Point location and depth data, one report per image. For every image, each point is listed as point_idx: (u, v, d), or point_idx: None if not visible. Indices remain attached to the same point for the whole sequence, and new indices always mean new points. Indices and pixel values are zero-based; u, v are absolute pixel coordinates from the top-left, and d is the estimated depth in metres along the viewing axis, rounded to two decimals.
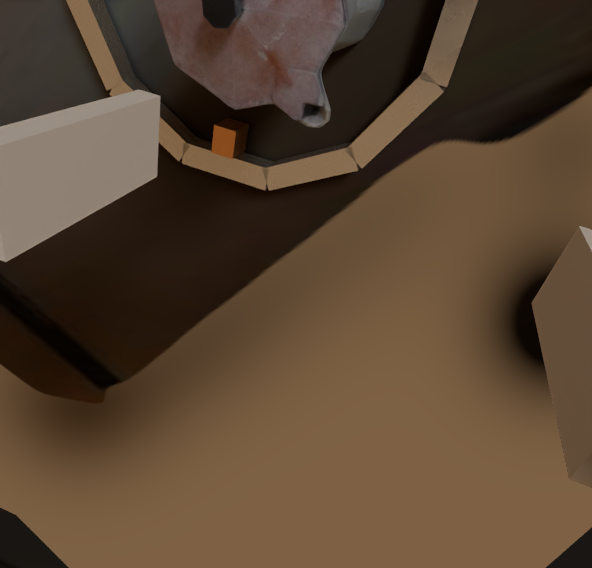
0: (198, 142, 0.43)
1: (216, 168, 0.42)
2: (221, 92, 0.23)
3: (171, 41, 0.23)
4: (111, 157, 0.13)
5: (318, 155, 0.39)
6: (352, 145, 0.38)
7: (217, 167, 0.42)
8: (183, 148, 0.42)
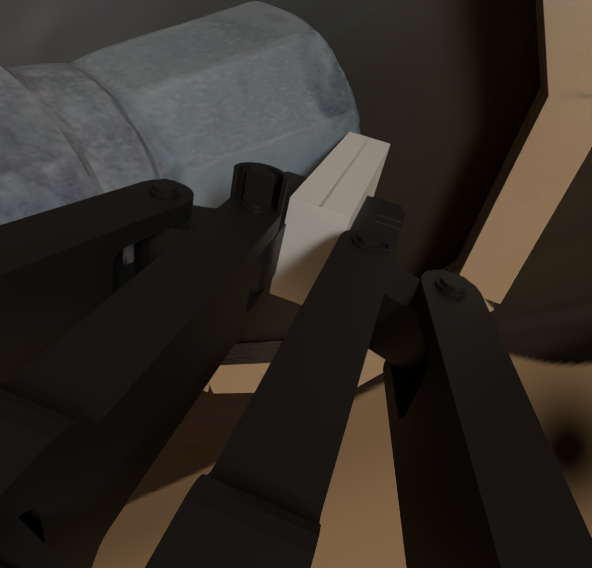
0: None
1: None
2: None
3: None
4: None
5: None
6: None
7: None
8: None
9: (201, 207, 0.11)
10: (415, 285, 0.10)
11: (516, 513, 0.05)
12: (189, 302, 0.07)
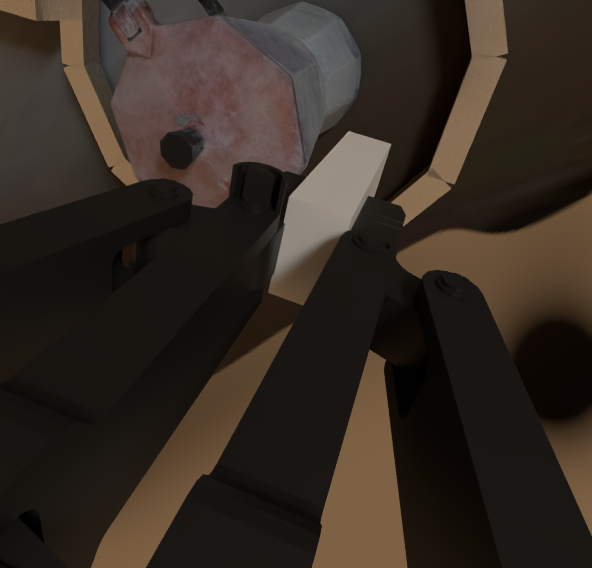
0: None
1: None
2: None
3: (133, 159, 0.23)
4: None
5: None
6: None
7: None
8: None
9: (200, 207, 0.11)
10: (416, 285, 0.10)
11: (517, 513, 0.05)
12: (188, 301, 0.07)
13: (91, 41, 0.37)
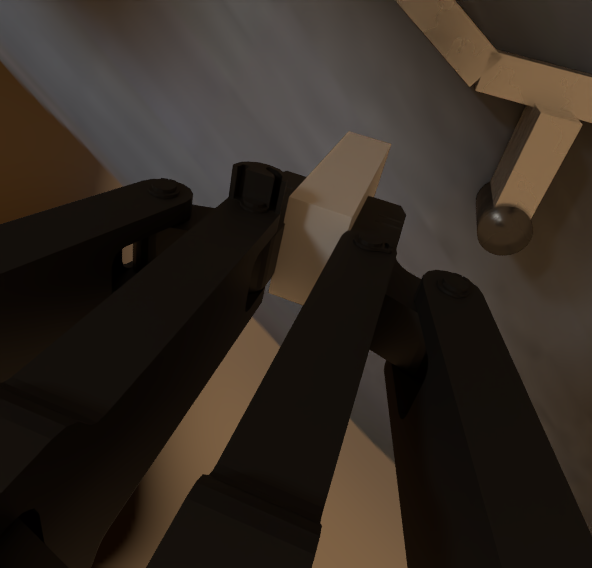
0: None
1: None
2: None
3: None
4: None
5: None
6: None
7: None
8: None
9: (200, 207, 0.11)
10: (416, 285, 0.10)
11: (517, 514, 0.05)
12: (188, 302, 0.07)
13: None
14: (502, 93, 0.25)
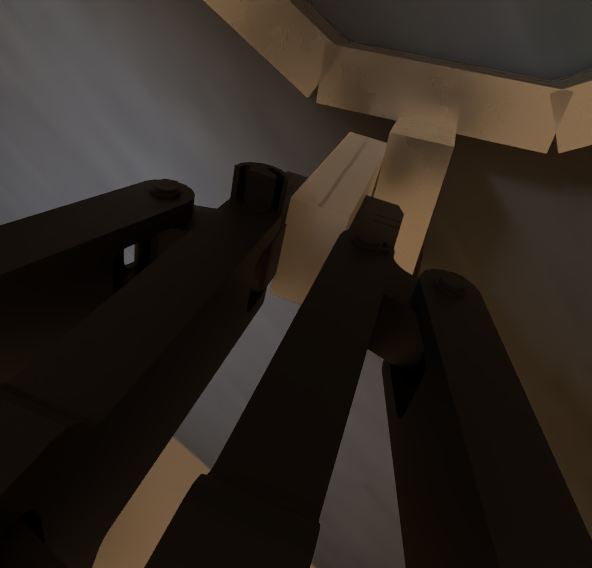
0: None
1: None
2: None
3: None
4: None
5: None
6: None
7: None
8: None
9: (201, 207, 0.11)
10: (414, 285, 0.10)
11: (514, 512, 0.05)
12: (190, 302, 0.07)
13: (506, 74, 0.16)
14: (353, 104, 0.17)
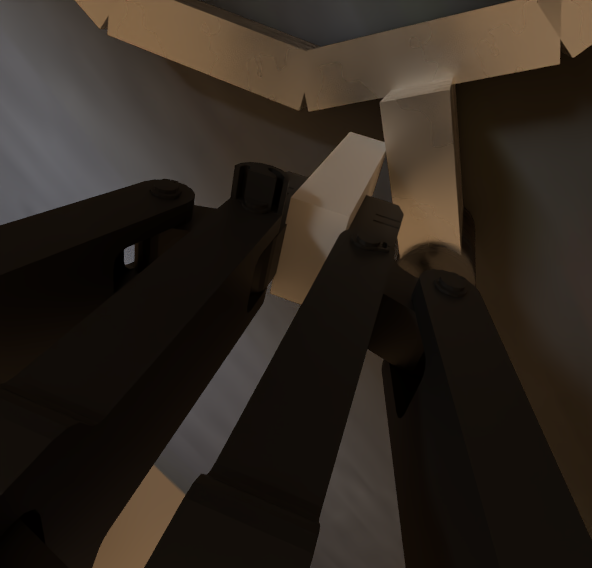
0: None
1: None
2: None
3: None
4: None
5: None
6: None
7: None
8: None
9: (202, 207, 0.11)
10: (414, 284, 0.10)
11: (515, 512, 0.05)
12: (190, 302, 0.07)
13: (485, 7, 0.15)
14: (343, 98, 0.17)
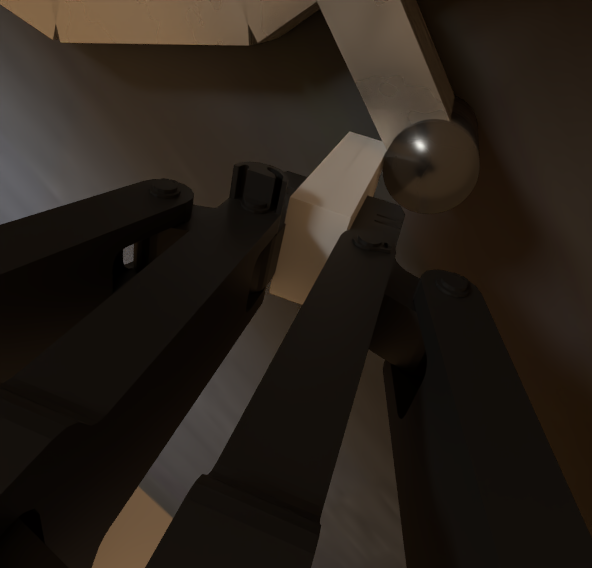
0: None
1: None
2: None
3: None
4: None
5: None
6: None
7: None
8: None
9: (201, 207, 0.11)
10: (415, 285, 0.10)
11: (516, 513, 0.05)
12: (189, 302, 0.07)
13: None
14: (286, 13, 0.16)
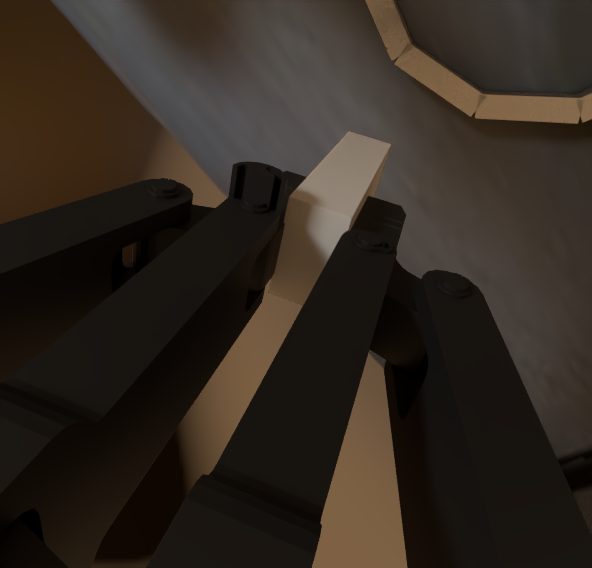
0: None
1: None
2: None
3: None
4: None
5: None
6: None
7: None
8: None
9: (200, 207, 0.11)
10: (416, 285, 0.10)
11: (517, 513, 0.05)
12: (188, 302, 0.07)
13: None
14: None
